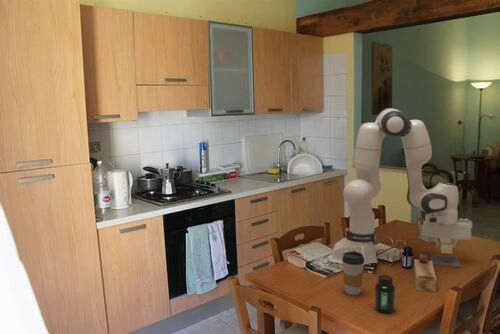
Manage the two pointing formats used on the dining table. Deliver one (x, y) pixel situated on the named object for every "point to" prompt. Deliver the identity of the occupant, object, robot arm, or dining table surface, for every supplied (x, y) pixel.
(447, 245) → the beige rectangular block
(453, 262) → the mat
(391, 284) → the supplement bottle
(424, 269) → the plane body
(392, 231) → the dining table surface
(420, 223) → the coffee box
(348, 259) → the coffee cup
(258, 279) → the dining table surface
